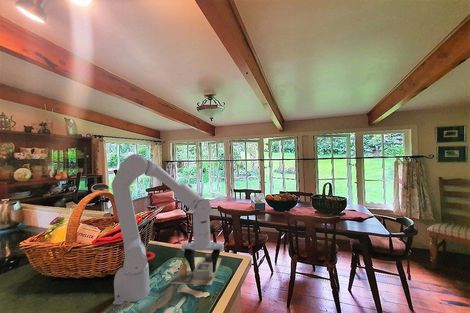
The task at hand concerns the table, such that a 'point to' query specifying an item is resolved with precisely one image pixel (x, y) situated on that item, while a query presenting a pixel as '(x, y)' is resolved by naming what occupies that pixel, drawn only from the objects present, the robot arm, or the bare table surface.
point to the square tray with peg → (183, 274)
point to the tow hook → (150, 255)
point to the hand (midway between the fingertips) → (203, 270)
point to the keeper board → (197, 260)
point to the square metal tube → (203, 271)
